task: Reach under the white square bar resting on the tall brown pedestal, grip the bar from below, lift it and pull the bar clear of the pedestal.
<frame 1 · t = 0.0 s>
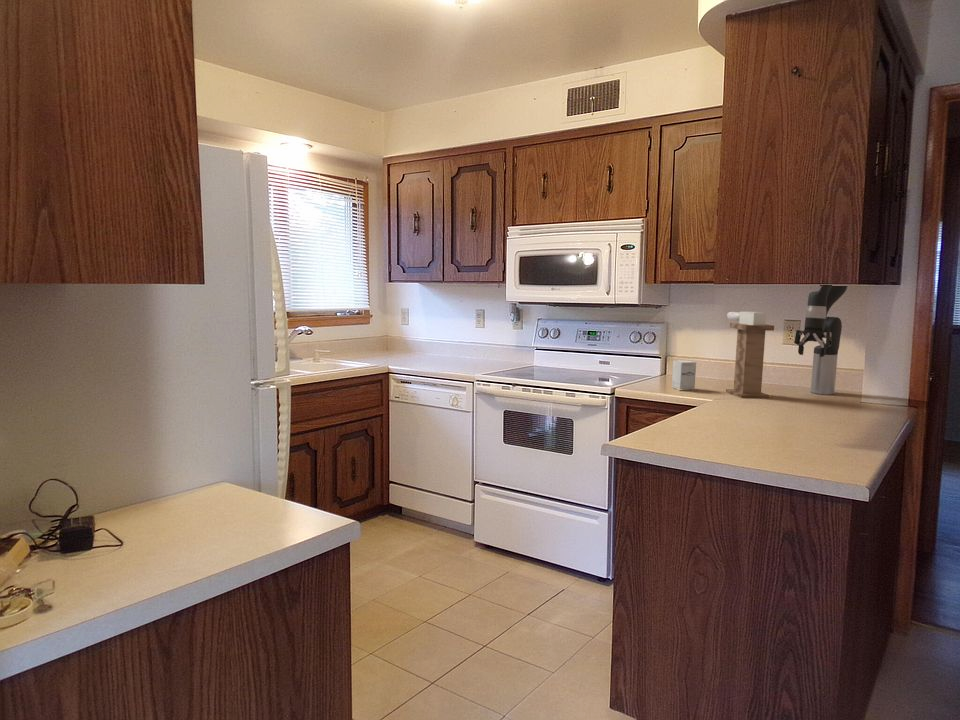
hand: (811, 355, 273), 17 cm above the worktop, tool pointing down, fingers open, 8 cm apart
white square bar: (751, 324, 272), point 30 cm above the worktop, touching brown pedestal
supplement box: (683, 389, 287), on the worktop
brown pedestal: (746, 394, 275), on the worktop
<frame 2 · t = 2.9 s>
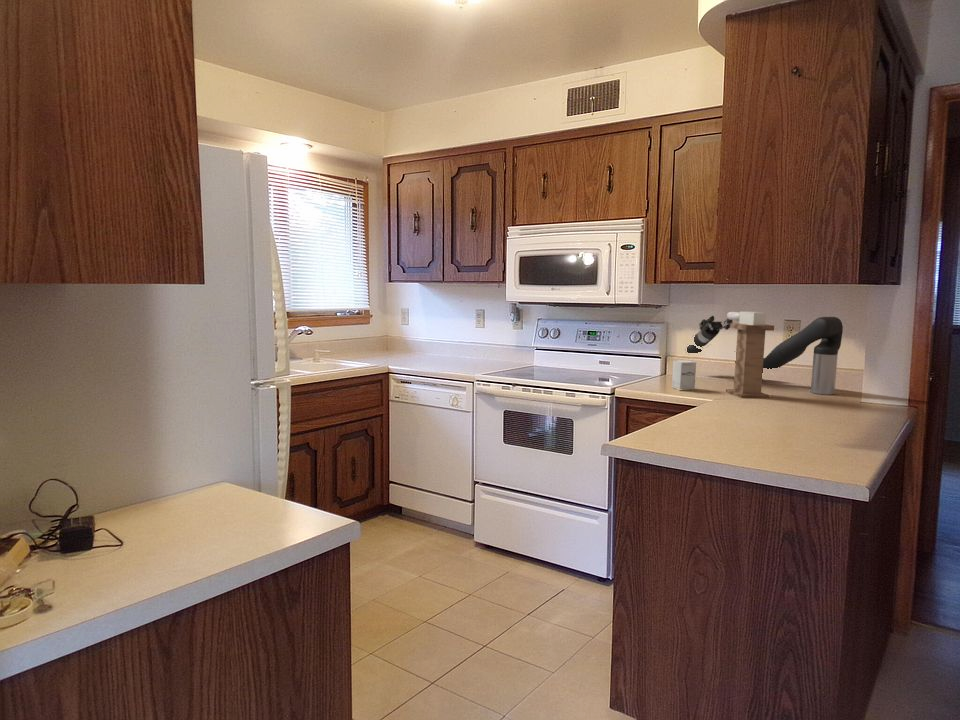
hand: (722, 317, 299), 31 cm above the worktop, tool pointing upward, fingers open, 8 cm apart
nothing on the worktop moved.
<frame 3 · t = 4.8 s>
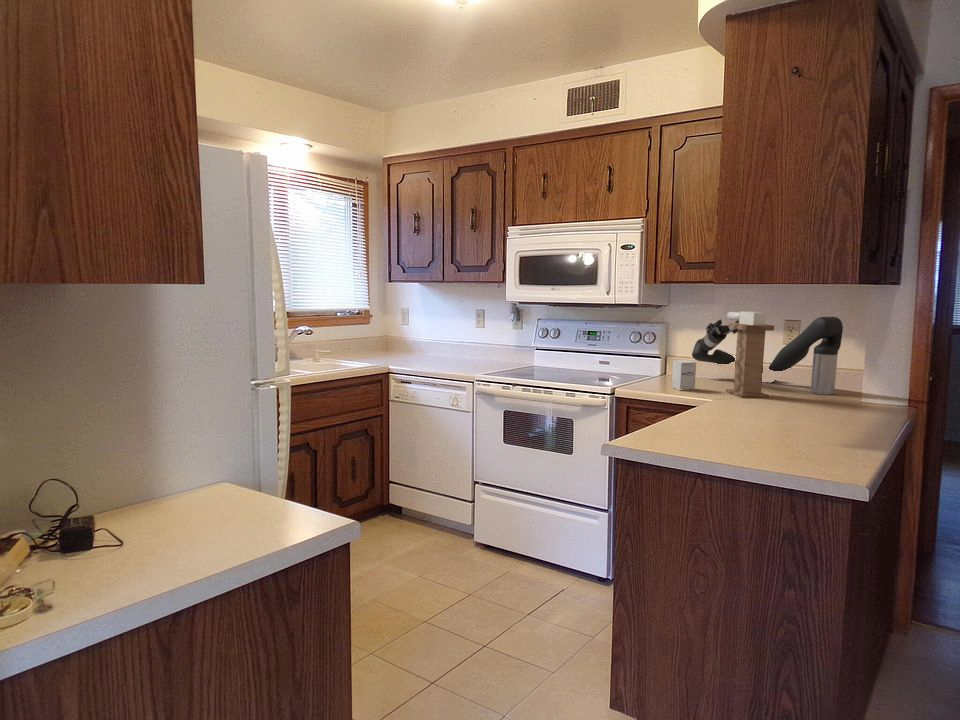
hand: (730, 321, 289), 30 cm above the worktop, tool pointing upward, fingers open, 8 cm apart
nothing on the worktop moved.
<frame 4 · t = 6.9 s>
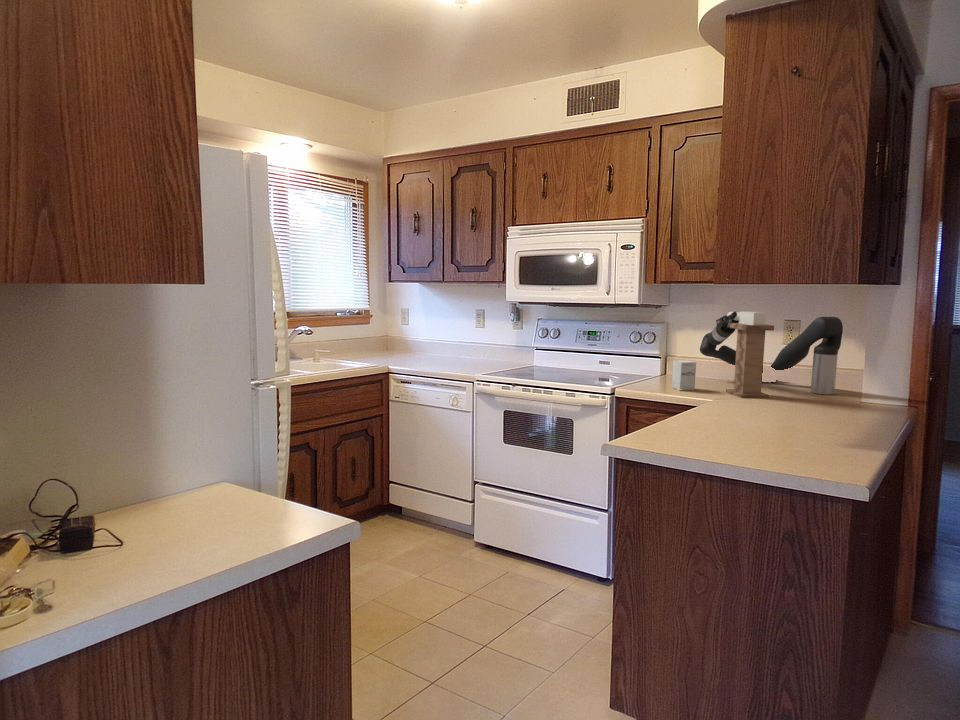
hand: (740, 313, 282), 34 cm above the worktop, tool pointing upward, fingers closed on white square bar, 3 cm apart
white square bar: (751, 324, 272), point 30 cm above the worktop, touching gripper, brown pedestal
everything else where it was.
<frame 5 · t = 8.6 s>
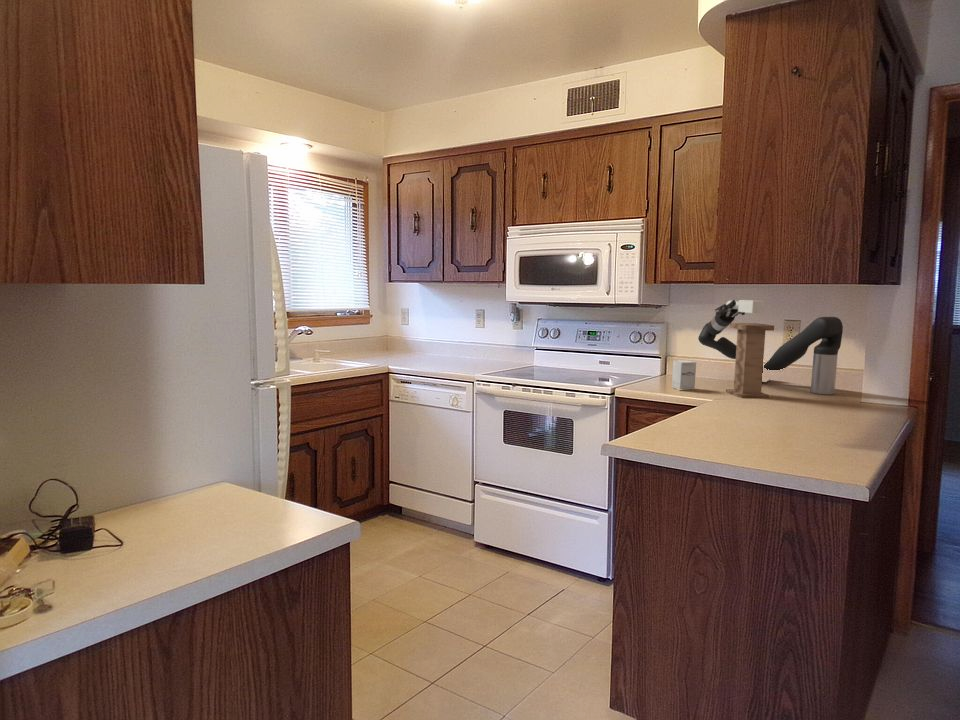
hand: (739, 302, 282), 39 cm above the worktop, tool pointing upward, fingers closed on white square bar, 3 cm apart
white square bar: (750, 312, 272), point 35 cm above the worktop, touching gripper
everything else where it was.
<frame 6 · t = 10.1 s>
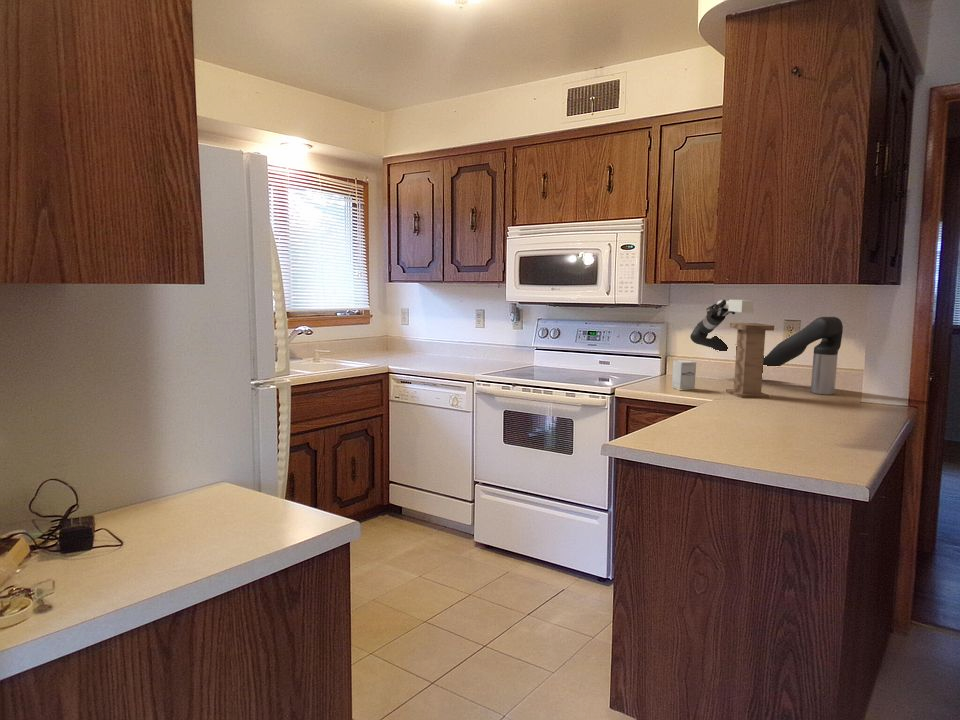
hand: (729, 301, 291), 39 cm above the worktop, tool pointing upward, fingers closed on white square bar, 3 cm apart
white square bar: (740, 311, 281), point 35 cm above the worktop, touching gripper
everything else where it was.
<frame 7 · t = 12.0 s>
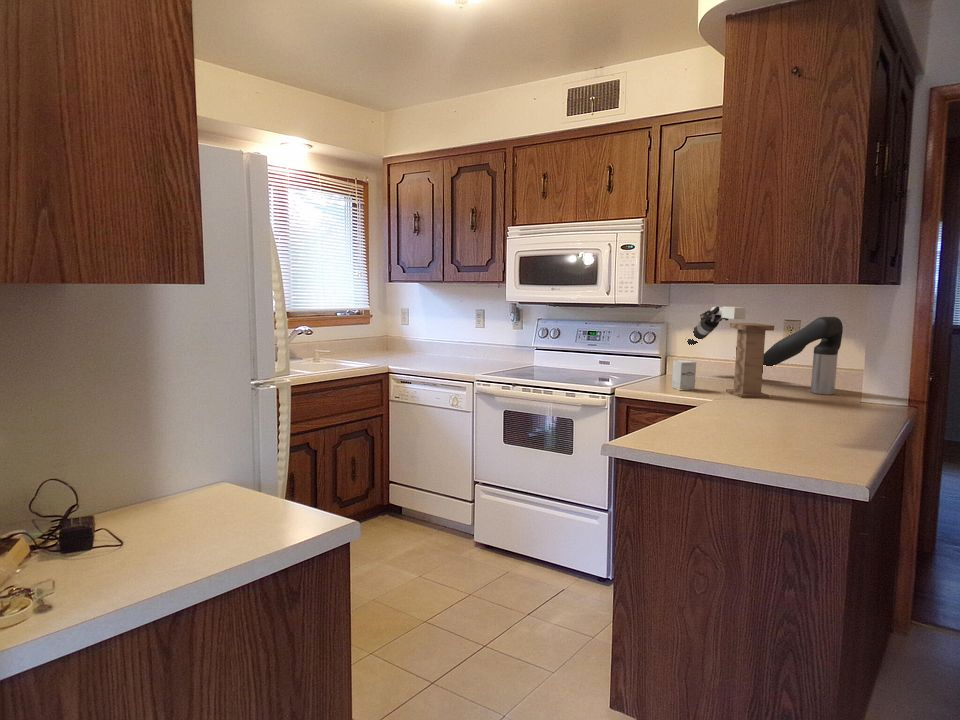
hand: (722, 308, 298), 35 cm above the worktop, tool pointing upward, fingers closed on white square bar, 3 cm apart
white square bar: (732, 318, 288), point 31 cm above the worktop, touching gripper
everything else where it was.
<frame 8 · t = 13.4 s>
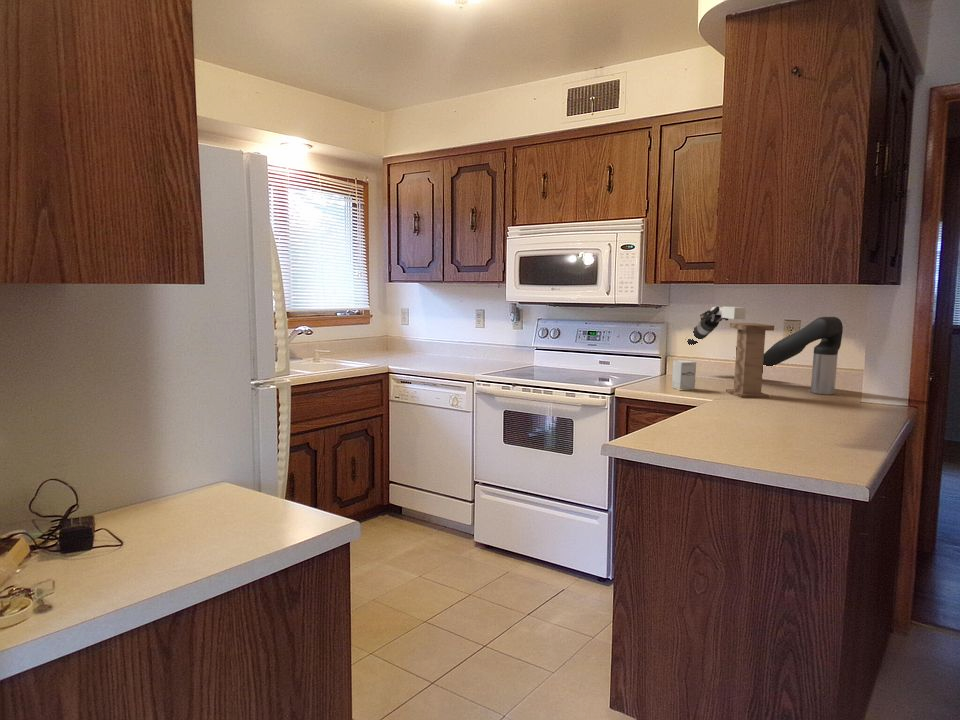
hand: (722, 308, 298), 35 cm above the worktop, tool pointing upward, fingers closed on white square bar, 3 cm apart
white square bar: (732, 318, 288), point 31 cm above the worktop, touching gripper
everything else where it was.
at the end: the gripper is holding white square bar; white square bar touching gripper; white square bar moved 17.1 cm from its start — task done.
